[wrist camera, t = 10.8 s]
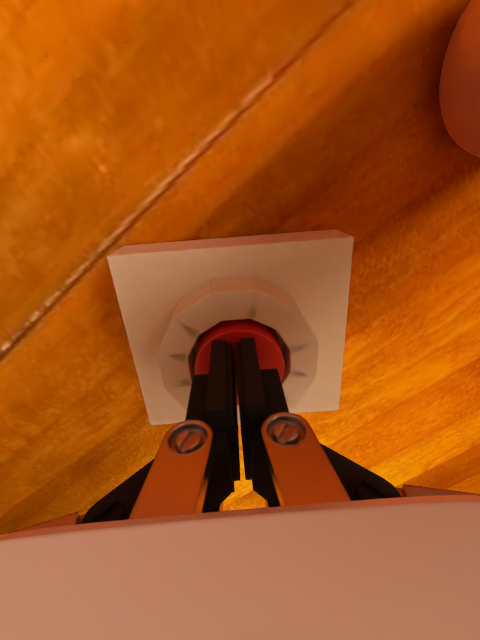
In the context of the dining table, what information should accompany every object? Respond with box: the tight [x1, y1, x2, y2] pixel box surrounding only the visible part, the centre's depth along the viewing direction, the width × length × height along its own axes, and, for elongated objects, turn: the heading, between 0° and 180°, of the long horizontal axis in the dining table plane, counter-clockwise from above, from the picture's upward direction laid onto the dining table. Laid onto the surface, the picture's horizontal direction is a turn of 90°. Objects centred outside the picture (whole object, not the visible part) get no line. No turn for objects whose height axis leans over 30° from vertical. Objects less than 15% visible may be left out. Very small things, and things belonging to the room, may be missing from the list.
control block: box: [107, 229, 354, 426], centre depth 14 cm, size 10×9×4 cm
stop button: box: [195, 319, 285, 405], centre depth 13 cm, size 4×4×2 cm
